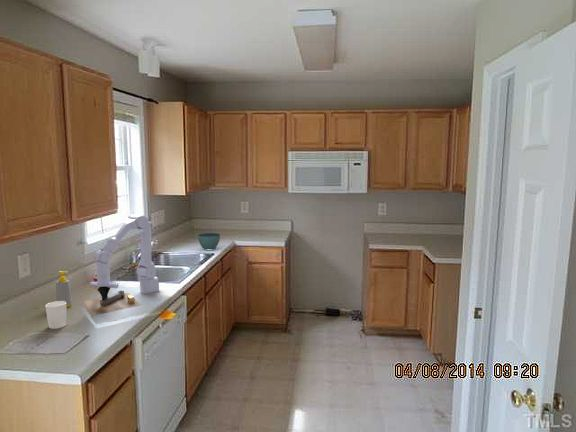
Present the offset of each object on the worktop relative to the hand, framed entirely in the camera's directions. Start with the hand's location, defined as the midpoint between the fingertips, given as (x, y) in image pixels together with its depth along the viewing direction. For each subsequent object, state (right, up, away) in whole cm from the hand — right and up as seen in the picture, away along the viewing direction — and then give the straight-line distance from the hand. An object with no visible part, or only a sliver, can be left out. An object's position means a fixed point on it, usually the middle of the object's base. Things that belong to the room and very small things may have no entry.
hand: (105, 301), depth 198 cm
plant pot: (+25, +14, +134) cm, 137 cm away
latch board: (+3, -3, +1) cm, 4 cm away
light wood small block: (+12, -1, +3) cm, 12 cm away
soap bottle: (-21, -3, +1) cm, 21 cm away
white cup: (-10, -6, -23) cm, 26 cm away
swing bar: (+3, 0, +3) cm, 4 cm away
